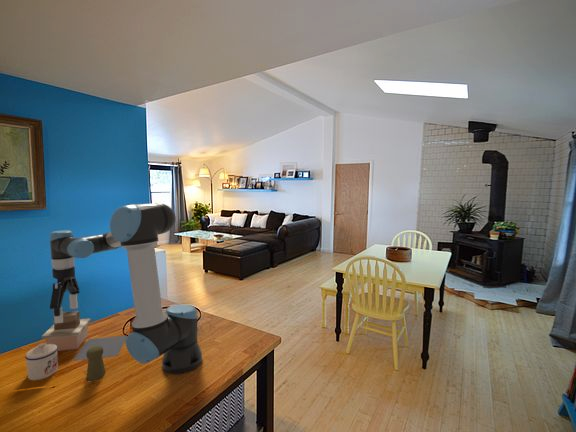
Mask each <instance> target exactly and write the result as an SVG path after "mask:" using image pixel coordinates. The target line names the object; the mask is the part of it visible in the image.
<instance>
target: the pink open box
mask: <svg viewBox="0 0 576 432" xmlns="http://www.w3.org/2000/svg"><path fill="white" fill-rule="evenodd" d="M88 325H89V324H88ZM88 325H87V326H86V327H85V328H84V330H83V331H82V332H81V333H80V334H79V336H68V337H58V338H48V339H45V344H54V345H56V346H57V347H58V349H57V352H61V351H62V352H63V351H73V350H78V349H79V348H80V347H81V345H82V344H83V343H84V342H85V340H86V339H87V337H88V336H89V330H88V328H89V327H88Z"/></svg>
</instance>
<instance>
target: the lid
mask: <svg viewBox="0 0 576 432" xmlns="http://www.w3.org/2000/svg"><path fill="white" fill-rule="evenodd" d="M62 312H63V323H54V322H53V325H52V326H50V327H49V329H48V330H46V331H45V332H44V333H42V335H41V340H46V339H48V338H58V337H68V336H79V334H80V333H81V332H82V331H83V330H84V328H85V327H86V326H87V325H89V323H90V322H91V320H92V319H91V318H81V316H80V315H81V314H80V310H71V311H70V310H69V311H62ZM53 319H54V315H53Z"/></svg>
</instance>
